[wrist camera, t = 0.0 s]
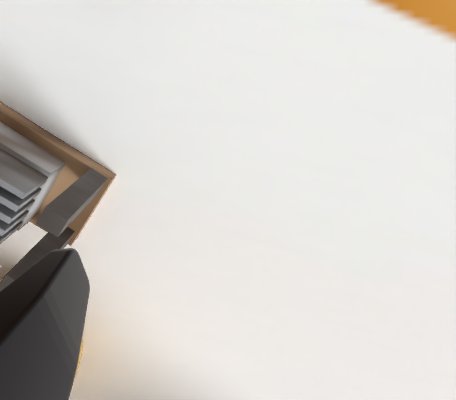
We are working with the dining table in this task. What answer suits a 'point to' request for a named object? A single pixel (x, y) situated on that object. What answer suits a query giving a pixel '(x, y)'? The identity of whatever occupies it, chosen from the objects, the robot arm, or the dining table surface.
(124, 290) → the dining table surface
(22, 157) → the grey and tan frame
